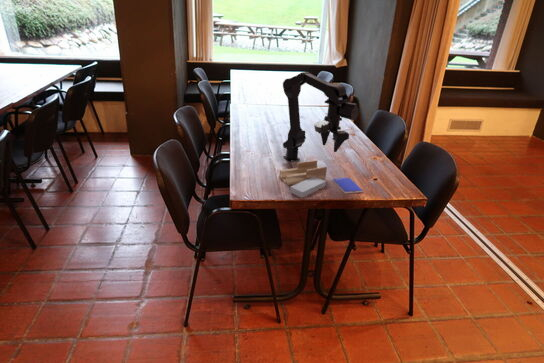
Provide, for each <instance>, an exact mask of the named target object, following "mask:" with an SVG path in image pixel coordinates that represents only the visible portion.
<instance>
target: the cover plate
mask: <svg viewBox="0 0 544 363" xmlns="http://www.w3.org/2000/svg"><path fill="white" fill-rule="evenodd" d="M326 184H327V181H326V179H325V180H322V179H320V178H317V177H315V176H313V177H311V178H309V179H307V180H304V181H302V182H300V183H298V184H293V185H290V188H289V193H291V194H293V195H295V196H297V197H299V196H300V197H299V198H301V197H303V198H304V197H306V196H309V195H311V194H313V193H315V192H316V191H318V190H321V189H324V188H325V187H326Z"/></svg>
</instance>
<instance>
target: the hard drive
mask: <svg viewBox="0 0 544 363" xmlns="http://www.w3.org/2000/svg"><path fill="white" fill-rule="evenodd" d="M332 181H333V183H334V184H335V185H336V186H337V187H338V188H339V189H340V190H341V191H342V192H343V193H344V194H356V193H363V189H362V188H361V187H360V186H359V185H358V184H357V183H355V182H354V181H353V180H352V179H351V178H350V177H342V178H340V177H339V178H338V177H337V178H333V179H332Z"/></svg>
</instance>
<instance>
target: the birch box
mask: <svg viewBox="0 0 544 363" xmlns="http://www.w3.org/2000/svg"><path fill="white" fill-rule="evenodd" d="M327 169H328V168H327V166H324V167H320V166H319V165H318V160H317V159H315V160H307V161H298V162H297V165H296V167H295V168H286V169H280V170H279V175H278V178H280V179H281V180H282V181H283V182H284V183H285V184H286V185H287V186H293V185H295V184H298V183H300V182H302V181H304V180H307V179H309V178H311V177H313V176H315V177H317V178H320V179H322V180H325V181H326V179H327V172H328V171H327ZM292 184H293V185H292Z"/></svg>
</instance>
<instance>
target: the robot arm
mask: <svg viewBox="0 0 544 363" xmlns="http://www.w3.org/2000/svg"><path fill="white" fill-rule="evenodd" d="M305 84H307V85H309V86H310V87H313V88H315V89H317V90H318V91H321V92H322V93H323V94H324V95H325V97H327V99H326V100H325V101H324V103H325V104H327V105H328V107H327V114H326V115H325V116H324V119H323V120H320V121H317V122H315V123H314V124H313V126H314V127H313V128H314V130H315V132H317V133H318V134H320V137H321V141H322V145H323V146H326V145H327V142H328V138H329V137H330V133H332V139H331V140H333V153H336V152H338V150H339V149H340V147H341V146H342V145H343V144H344V142H345V141H347V140H349V139H350V133H348V132H347V131H345V130H341V128H342V127H341V126H340V122H341V121H342V120H343V119H346V120H351V121H356V120H357V118H358V116H359V112H360V111H359V107H358V104H357V103H354V102H353V103H352V102H351V100H350V98H349V96H348V93H347V90H346V87H345V86H344V85H342V84H338V83H332V82H328V81H327V80H324V79H322V78H320V77H318V76H316V75H313V74H312V73H311V72H309V71H304V72H300V73H298V74H296V75H294V76H292V77H290V78H285V79H284V80H283V82H282V88H283V92H284V95H285V96H286V97H287V105H288V116H289V130H288V132H287V139H286V141H284V142H283V143H282V146H283V148H284V149H285V150H286V151H285V152H286V153H285V155H283V158H284V159H285V160H286V161H287V162H294V161H300V160H301V158H299V157H298V154H299V148H301V147H302V146H303V144H304V143H305V141H306V139H307V138H306V130H303V129H302V126H301V117H300V104H299V102H300V101H299V96H300V93H301V88H302V86H303V85H305Z"/></svg>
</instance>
